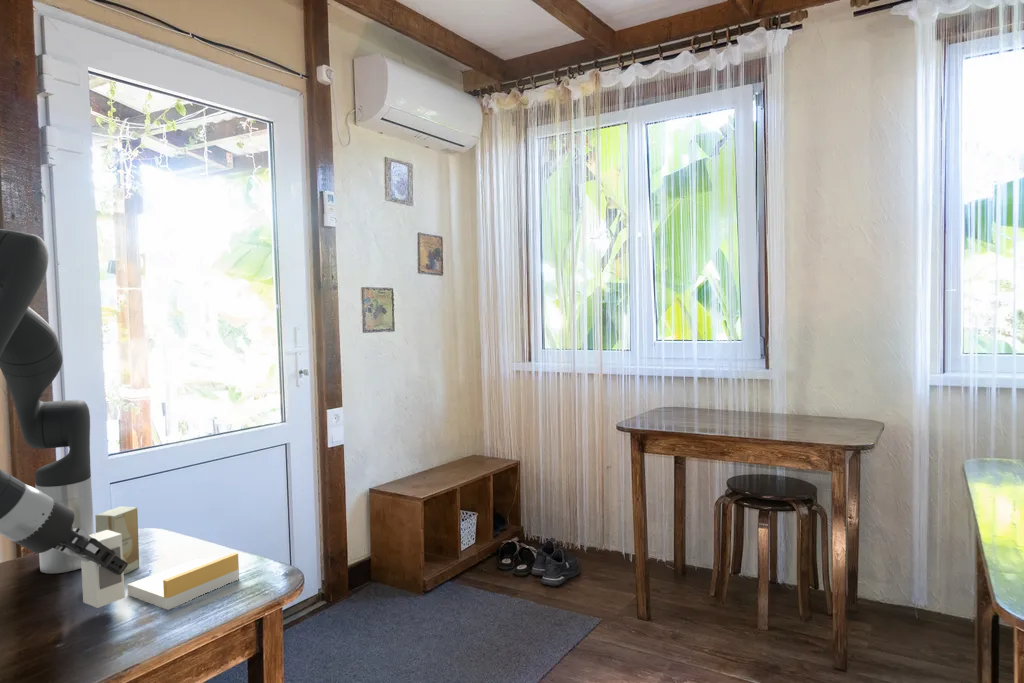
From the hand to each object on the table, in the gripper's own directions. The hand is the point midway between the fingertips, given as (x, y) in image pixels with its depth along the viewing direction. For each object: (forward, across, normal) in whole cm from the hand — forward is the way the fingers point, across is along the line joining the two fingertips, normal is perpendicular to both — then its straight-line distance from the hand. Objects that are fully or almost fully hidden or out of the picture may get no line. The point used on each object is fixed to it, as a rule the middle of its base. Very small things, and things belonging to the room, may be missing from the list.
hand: (114, 566), depth 111 cm
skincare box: (+12, +16, -1) cm, 20 cm away
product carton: (+2, 0, +5) cm, 6 cm away
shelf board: (+13, -2, -2) cm, 14 cm away
